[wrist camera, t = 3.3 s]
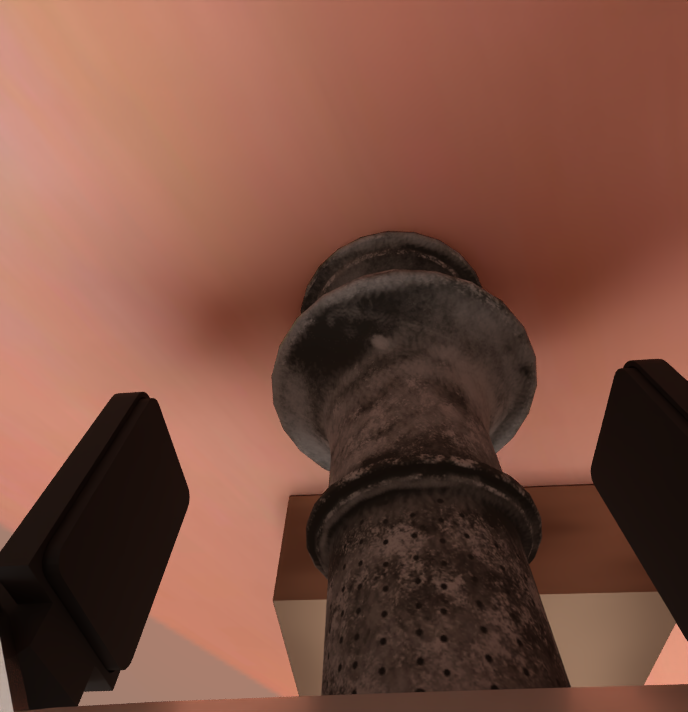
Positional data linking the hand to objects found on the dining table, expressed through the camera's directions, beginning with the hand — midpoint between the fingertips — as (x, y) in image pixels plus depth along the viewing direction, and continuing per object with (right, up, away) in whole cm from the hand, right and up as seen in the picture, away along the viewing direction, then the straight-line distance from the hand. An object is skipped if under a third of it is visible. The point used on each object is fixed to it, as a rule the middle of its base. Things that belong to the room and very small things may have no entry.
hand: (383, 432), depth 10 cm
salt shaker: (+1, +3, +4) cm, 5 cm away
